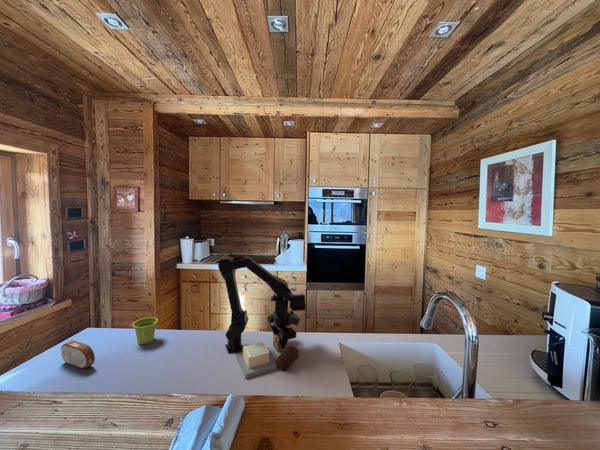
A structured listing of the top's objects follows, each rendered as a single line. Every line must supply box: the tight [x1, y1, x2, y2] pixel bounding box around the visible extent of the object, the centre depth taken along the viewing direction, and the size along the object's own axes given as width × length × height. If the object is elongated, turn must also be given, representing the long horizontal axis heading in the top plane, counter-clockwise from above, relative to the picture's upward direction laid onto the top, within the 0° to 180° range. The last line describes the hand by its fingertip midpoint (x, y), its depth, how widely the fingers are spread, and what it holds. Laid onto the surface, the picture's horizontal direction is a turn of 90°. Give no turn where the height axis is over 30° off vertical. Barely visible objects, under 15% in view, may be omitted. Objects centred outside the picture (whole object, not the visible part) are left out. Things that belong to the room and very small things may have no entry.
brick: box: [276, 345, 300, 372], centre depth 97 cm, size 11×4×5 cm, turn 152°
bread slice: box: [61, 339, 96, 370], centre depth 92 cm, size 15×3×8 cm, turn 71°
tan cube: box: [272, 334, 289, 353], centre depth 108 cm, size 5×5×5 cm
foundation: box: [235, 342, 278, 380], centre depth 96 cm, size 14×12×6 cm
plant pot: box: [132, 317, 159, 345], centre depth 110 cm, size 9×9×9 cm
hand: (280, 345), depth 108 cm, fingers closed on tan cube, 5 cm apart
